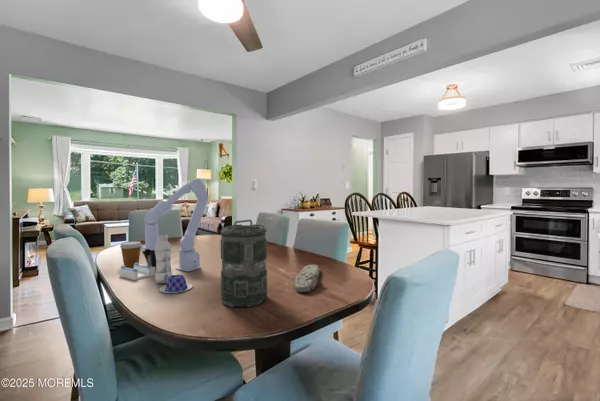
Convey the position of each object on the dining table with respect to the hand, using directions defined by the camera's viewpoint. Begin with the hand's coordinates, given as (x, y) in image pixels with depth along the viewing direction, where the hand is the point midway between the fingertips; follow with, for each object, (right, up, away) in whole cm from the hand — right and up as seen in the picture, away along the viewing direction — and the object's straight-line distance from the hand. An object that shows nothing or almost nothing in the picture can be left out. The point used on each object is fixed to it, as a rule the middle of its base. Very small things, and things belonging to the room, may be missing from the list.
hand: (152, 265), depth 144 cm
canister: (+50, -4, -37) cm, 62 cm away
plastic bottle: (+13, -4, -17) cm, 22 cm away
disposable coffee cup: (-16, -3, +11) cm, 19 cm away
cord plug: (0, -2, 0) cm, 2 cm away
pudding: (+21, -4, -24) cm, 33 cm away
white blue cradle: (-2, -3, -3) cm, 5 cm away
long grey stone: (+73, -4, -14) cm, 74 cm away
